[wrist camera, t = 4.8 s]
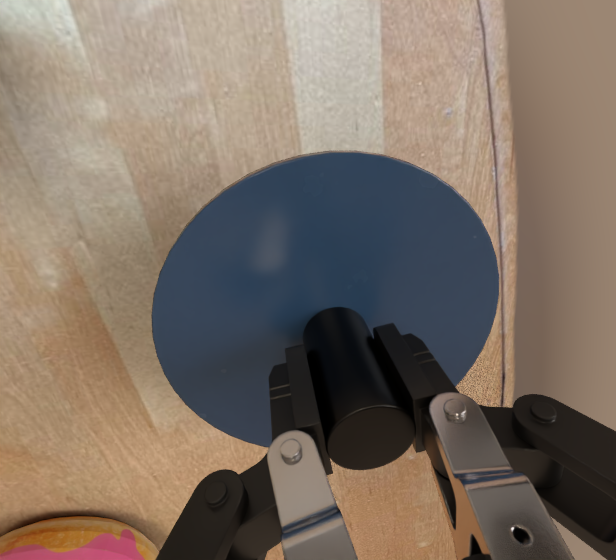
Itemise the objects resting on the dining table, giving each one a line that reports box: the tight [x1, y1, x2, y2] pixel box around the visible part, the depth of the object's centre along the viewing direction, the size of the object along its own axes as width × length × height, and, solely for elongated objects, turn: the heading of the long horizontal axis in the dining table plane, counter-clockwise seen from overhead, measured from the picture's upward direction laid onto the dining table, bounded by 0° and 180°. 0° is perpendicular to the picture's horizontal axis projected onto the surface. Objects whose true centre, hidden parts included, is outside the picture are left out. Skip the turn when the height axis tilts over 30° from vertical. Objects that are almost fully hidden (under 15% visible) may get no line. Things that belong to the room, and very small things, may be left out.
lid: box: [152, 151, 499, 470], centre depth 13 cm, size 14×14×6 cm
